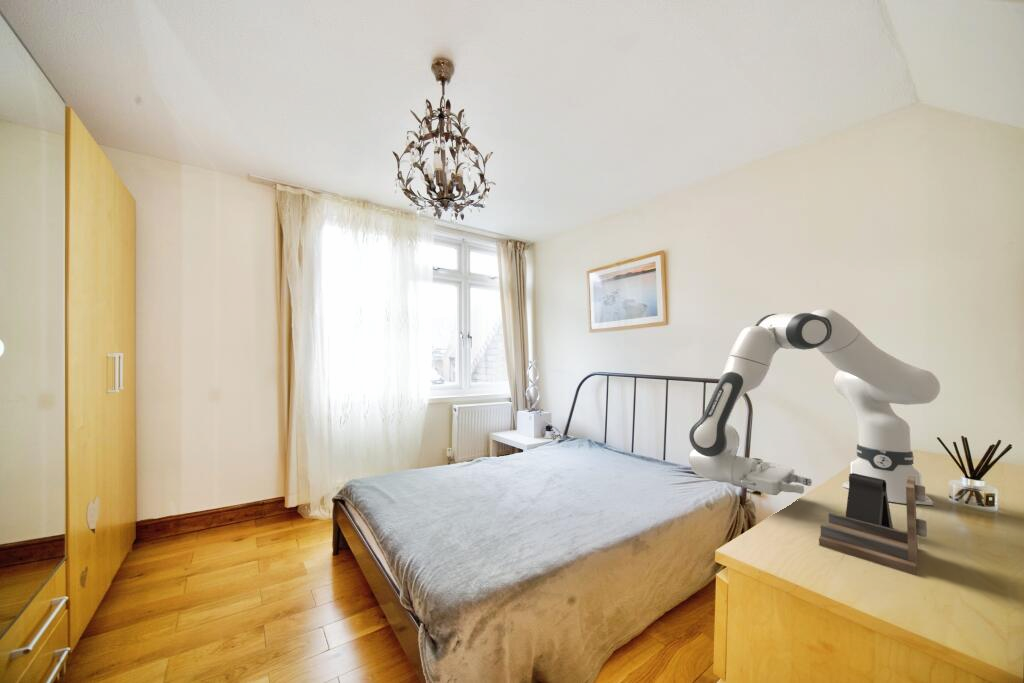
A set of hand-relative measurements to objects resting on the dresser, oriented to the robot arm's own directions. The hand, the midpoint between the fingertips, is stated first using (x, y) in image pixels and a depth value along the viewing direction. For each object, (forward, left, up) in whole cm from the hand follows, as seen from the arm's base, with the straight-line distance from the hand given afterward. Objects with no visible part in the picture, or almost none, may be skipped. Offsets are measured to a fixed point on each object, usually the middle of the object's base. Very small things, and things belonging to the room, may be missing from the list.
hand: (807, 486), depth 97 cm
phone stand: (0, +12, -7) cm, 13 cm away
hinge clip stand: (+14, +12, -7) cm, 20 cm away
